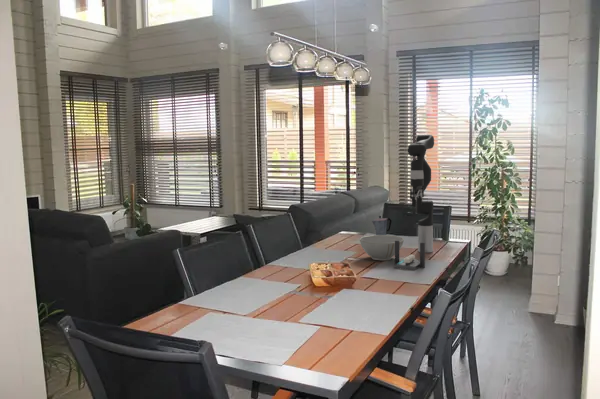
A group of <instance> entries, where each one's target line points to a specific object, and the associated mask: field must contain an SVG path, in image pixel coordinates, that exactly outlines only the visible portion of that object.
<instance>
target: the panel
mask: <svg viewBox="0 0 600 399" xmlns="http://www.w3.org/2000/svg"><path fill="white" fill-rule="evenodd" d="M400 268H401V270H402V269H403V270H408V271H409V270H410V271H416V270H418V269H420V259H415V260H413V261H410V263H405V262H404V258H403V259H401V260H399V262H398V263H396V264H395V263H394V269H400Z"/></svg>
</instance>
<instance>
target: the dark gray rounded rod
mask: <svg viewBox="0 0 600 399" xmlns="http://www.w3.org/2000/svg"><path fill="white" fill-rule="evenodd" d="M398 262H400V250H399V241H395V255H394V265H395V264H396V263H398Z"/></svg>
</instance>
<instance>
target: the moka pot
mask: <svg viewBox="0 0 600 399" xmlns="http://www.w3.org/2000/svg"><path fill="white" fill-rule="evenodd" d="M388 221H389V223H388ZM392 221H393V220H392V218H390V217H385V218H382V216H381V215H378V218H376V219H375V218H374V219H373V220H372V221H371V222H372V224H373V225H374V230H375V235H388V234H387V232H389V231H390V230H391V226H392ZM387 224H389V225H388V229H387Z"/></svg>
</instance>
